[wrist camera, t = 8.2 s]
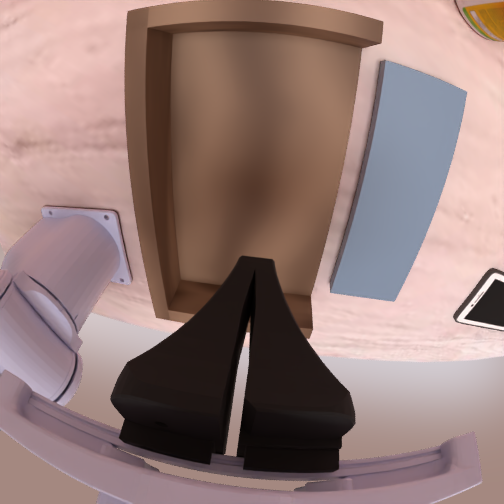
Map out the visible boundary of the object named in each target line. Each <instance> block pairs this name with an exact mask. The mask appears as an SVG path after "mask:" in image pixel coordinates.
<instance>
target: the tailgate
mask: <svg viewBox="0 0 504 504" xmlns="http://www.w3.org/2000/svg"><path fill="white" fill-rule="evenodd" d="M466 96H467V92H466V91H464V90H462V89H460V88H458V87H456V86H453V85H451V84H449V83H447V82H444V81H442V80H440V79H437V78H435V77H432V76H430V75H427V74H425V73H422V72H419V71H417V70H414V69H411V68H408V67H405V66H402V65H399V64H396V63H393V62H390V61H386V60H385V61H381V63H380V70H379V78H378V85H377V91H376V98H375V104H374V109H373V115H372V121H371V126H370V131H369V136H368V141H367V146H366V151H365V156H364V160H363V165H362V169H361V173H360V178H359V182H358V186H357V190H356V194H355V198H354V202H353V206H352V210H351V213H350V217H349V221H348V224H347V228H346V232H345V235H344V239H343V242H342V245H341V249H340V252H339V255H338V259H337V262H336V265H335V268H334V272H333V275H332V278H331V281H330V293H336V294H343V295H350V296H357V297H364V298H371V299H379V300H386V301H395V299H396V297H397V296H398V294H399V292H400V290H401V288H402V286H403V284H404V282H405V280H406V278H407V276H408V274H409V272H410V269H411V267H412V265H413V263H414V261H415V259H416V256H417V254H418V252H419V250H420V247H421V245H422V243H423V240H424V238H425V236H426V233H427V231H428V228H429V226H430V223H431V221H432V218H433V215H434V213H435V210H436V207H437V205H438V202H439V199H440V196H441V193H442V190H443V187H444V184H445V181H446V178H447V175H448V172H449V168H450V165H451V161H452V158H453V154H454V151H455V147H456V143H457V139H458V135H459V131H460V126H461V122H462V117H463V112H464V107H465V101H466Z"/></svg>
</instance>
